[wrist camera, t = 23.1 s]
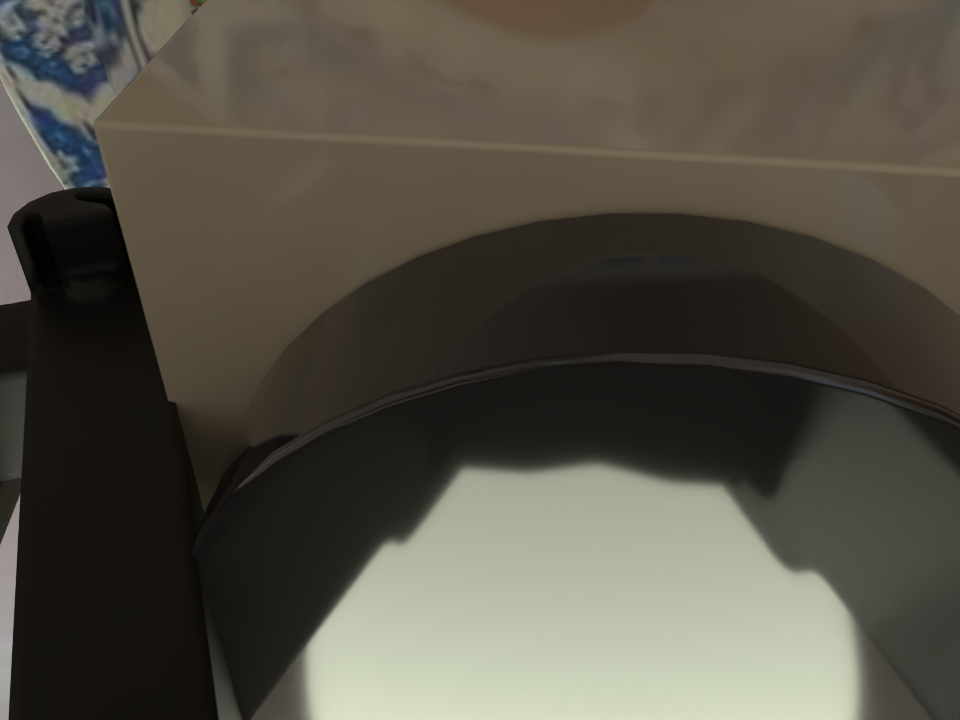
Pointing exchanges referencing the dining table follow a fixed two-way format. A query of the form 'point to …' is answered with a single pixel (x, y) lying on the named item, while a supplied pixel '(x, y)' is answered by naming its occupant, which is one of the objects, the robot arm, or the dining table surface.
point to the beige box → (562, 351)
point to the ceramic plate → (78, 69)
